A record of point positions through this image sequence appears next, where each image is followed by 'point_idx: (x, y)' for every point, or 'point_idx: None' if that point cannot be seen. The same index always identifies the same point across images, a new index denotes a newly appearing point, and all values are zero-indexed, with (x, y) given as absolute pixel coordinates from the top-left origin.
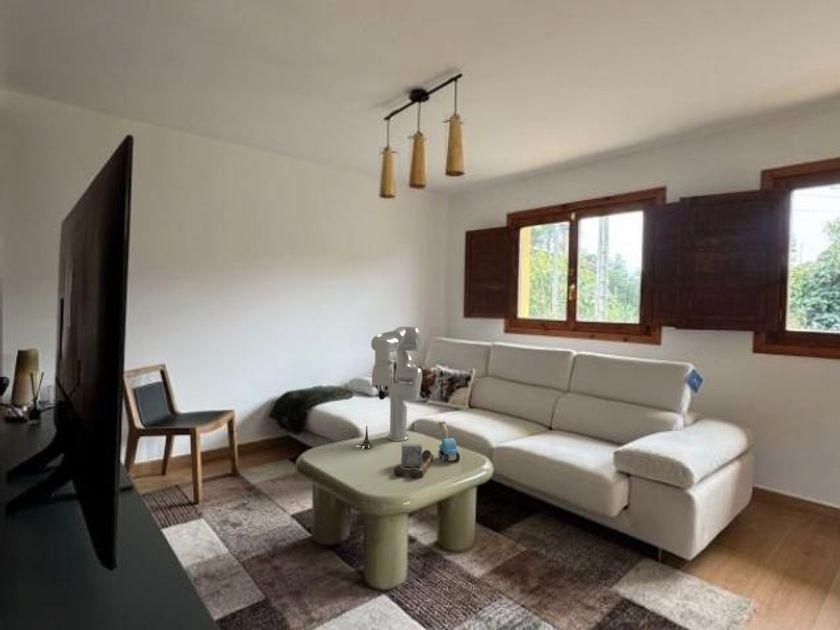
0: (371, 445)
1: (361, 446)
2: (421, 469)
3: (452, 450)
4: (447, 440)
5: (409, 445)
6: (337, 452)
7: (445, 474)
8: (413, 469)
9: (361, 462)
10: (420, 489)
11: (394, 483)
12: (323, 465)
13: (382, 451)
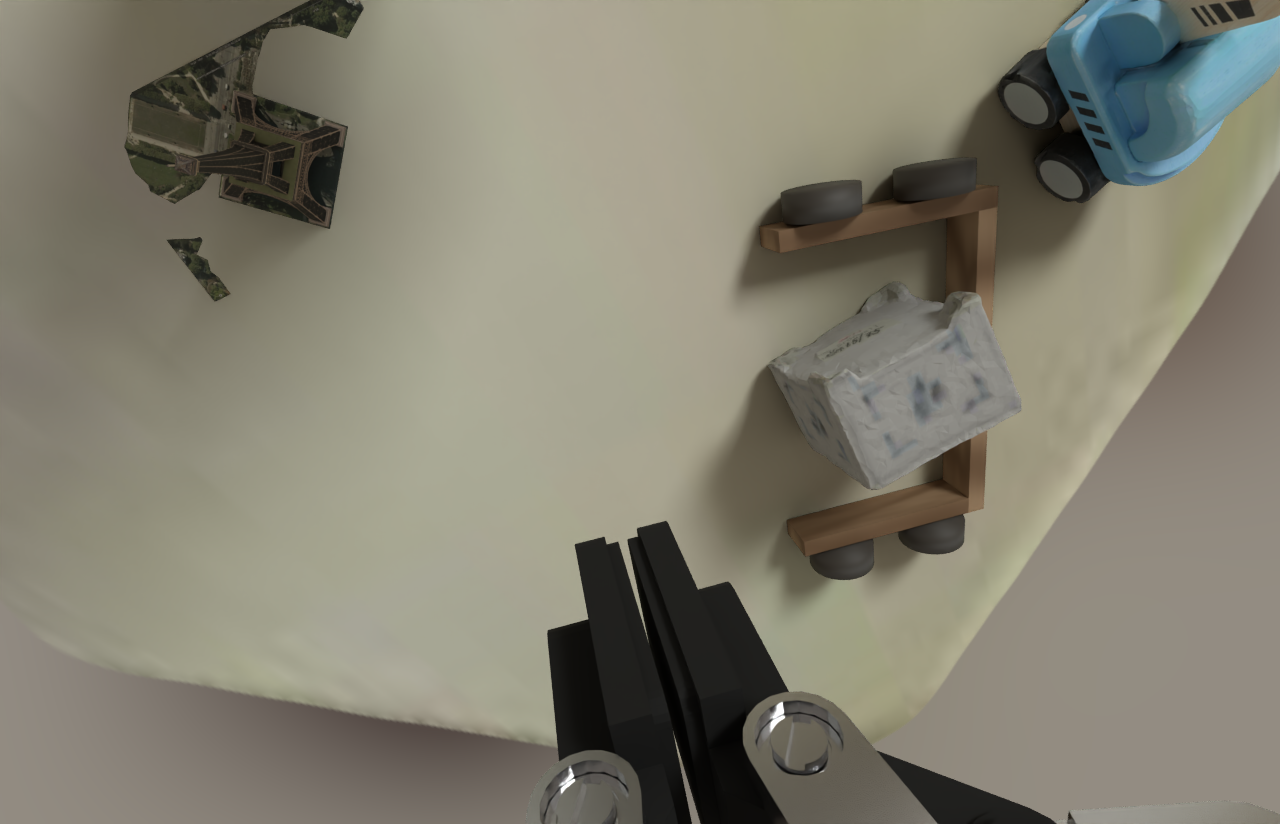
0: (323, 136)
1: (238, 194)
2: (971, 492)
3: (1192, 159)
4: (1221, 106)
5: (918, 435)
6: (149, 416)
7: (1072, 380)
8: (942, 550)
9: (493, 488)
10: (976, 609)
11: (837, 623)
12: (294, 660)
13: (495, 186)
